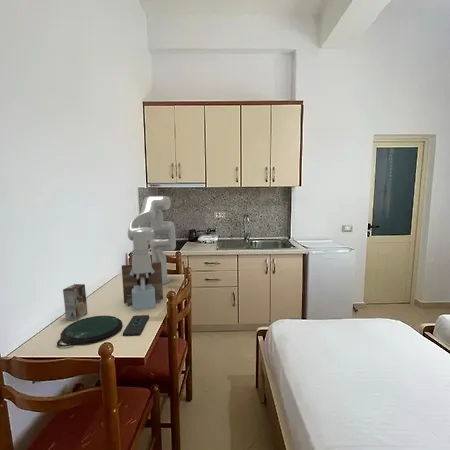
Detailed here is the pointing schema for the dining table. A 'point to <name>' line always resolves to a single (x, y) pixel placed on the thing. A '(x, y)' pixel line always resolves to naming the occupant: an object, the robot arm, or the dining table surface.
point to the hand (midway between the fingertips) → (142, 284)
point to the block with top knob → (143, 296)
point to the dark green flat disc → (90, 330)
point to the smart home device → (136, 325)
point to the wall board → (131, 281)
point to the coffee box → (75, 301)
